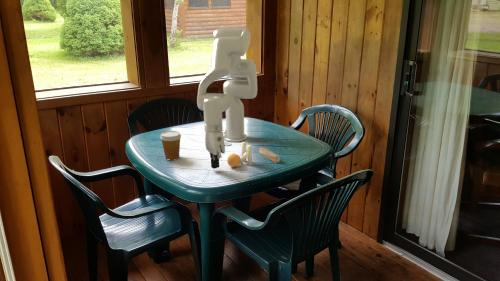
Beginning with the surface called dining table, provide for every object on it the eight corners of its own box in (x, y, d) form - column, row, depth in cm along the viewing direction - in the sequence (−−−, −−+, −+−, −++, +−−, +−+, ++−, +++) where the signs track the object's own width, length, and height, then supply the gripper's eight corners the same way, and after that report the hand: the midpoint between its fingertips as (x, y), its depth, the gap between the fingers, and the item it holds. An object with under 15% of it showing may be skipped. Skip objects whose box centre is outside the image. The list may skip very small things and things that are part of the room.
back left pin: (241, 161, 186) (240, 143, 183) (243, 160, 187) (243, 141, 184) (245, 162, 185) (244, 143, 182) (247, 160, 186) (246, 142, 184)
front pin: (237, 161, 182) (249, 145, 183) (238, 162, 183) (250, 147, 185) (241, 163, 181) (252, 147, 183) (242, 165, 182) (253, 149, 184)
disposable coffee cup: (163, 154, 195) (161, 131, 191) (183, 153, 196) (181, 130, 192) (160, 162, 186) (158, 137, 183) (181, 161, 187) (180, 136, 183)
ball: (242, 157, 182) (237, 169, 182) (230, 152, 182) (225, 164, 182) (243, 156, 176) (237, 169, 176) (230, 151, 176) (224, 163, 176)
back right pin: (246, 165, 182) (246, 146, 179) (249, 163, 183) (248, 144, 180) (250, 165, 181) (250, 146, 178) (252, 164, 182) (252, 145, 179)
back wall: (275, 162, 184) (275, 156, 183) (259, 153, 195) (259, 147, 194) (279, 162, 185) (279, 155, 184) (262, 152, 196) (262, 147, 195)
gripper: (229, 130, 166) (231, 171, 172) (213, 121, 178) (215, 160, 184) (213, 133, 162) (215, 175, 168) (197, 124, 174) (200, 163, 180)
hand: (215, 167), depth 176 cm, fingers closed
